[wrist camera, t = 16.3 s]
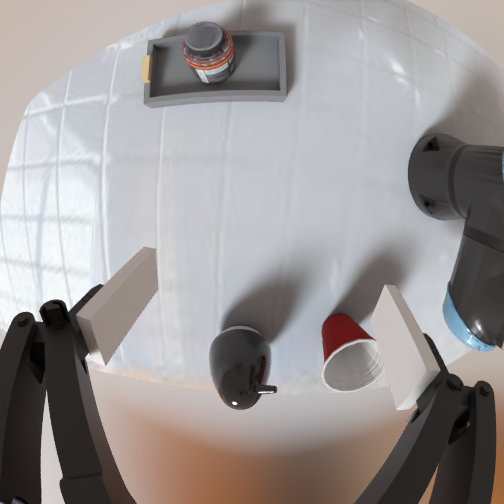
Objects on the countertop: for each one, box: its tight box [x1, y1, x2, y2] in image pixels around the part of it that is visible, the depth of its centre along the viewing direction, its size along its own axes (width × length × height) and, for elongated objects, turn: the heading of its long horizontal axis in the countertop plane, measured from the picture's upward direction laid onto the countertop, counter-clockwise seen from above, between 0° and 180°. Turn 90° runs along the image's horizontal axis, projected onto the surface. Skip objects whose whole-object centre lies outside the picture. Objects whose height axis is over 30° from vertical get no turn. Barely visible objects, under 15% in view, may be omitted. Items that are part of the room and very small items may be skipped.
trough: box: [141, 31, 287, 108], centre depth 30 cm, size 19×10×5 cm, turn 90°
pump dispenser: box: [209, 326, 277, 410], centre depth 39 cm, size 10×10×15 cm
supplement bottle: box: [181, 22, 235, 84], centre depth 26 cm, size 6×6×11 cm
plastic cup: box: [321, 314, 385, 393], centre depth 41 cm, size 11×11×12 cm
